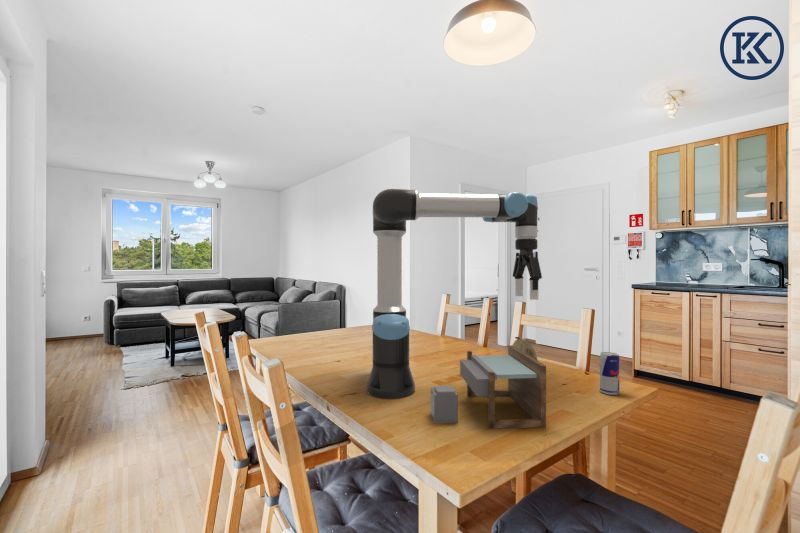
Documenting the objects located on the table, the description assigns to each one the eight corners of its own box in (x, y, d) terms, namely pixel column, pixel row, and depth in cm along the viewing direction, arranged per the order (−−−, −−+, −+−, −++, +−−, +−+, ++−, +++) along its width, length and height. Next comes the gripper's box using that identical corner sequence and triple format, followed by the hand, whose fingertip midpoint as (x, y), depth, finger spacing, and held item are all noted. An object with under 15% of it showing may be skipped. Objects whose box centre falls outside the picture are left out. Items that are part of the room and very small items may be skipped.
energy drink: (616, 396, 113) (617, 356, 113) (597, 392, 117) (597, 354, 117) (621, 392, 117) (621, 353, 117) (602, 388, 121) (602, 351, 121)
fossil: (516, 340, 117) (502, 342, 120) (527, 389, 114) (513, 390, 116) (533, 335, 130) (521, 337, 133) (544, 379, 127) (531, 380, 130)
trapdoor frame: (489, 428, 91) (490, 366, 91) (467, 395, 114) (467, 346, 114) (545, 426, 92) (546, 365, 92) (512, 394, 115) (512, 345, 115)
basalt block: (434, 423, 94) (434, 392, 94) (430, 413, 100) (430, 384, 100) (457, 422, 95) (457, 392, 95) (453, 413, 101) (453, 384, 101)
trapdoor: (477, 397, 93) (477, 374, 93) (459, 373, 113) (459, 354, 112) (537, 396, 93) (537, 373, 93) (509, 373, 113) (509, 354, 113)
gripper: (552, 236, 123) (552, 301, 123) (523, 240, 147) (522, 294, 148) (530, 236, 122) (530, 301, 122) (504, 240, 147) (504, 294, 147)
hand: (526, 297), depth 135 cm, fingers open, 13 cm apart
